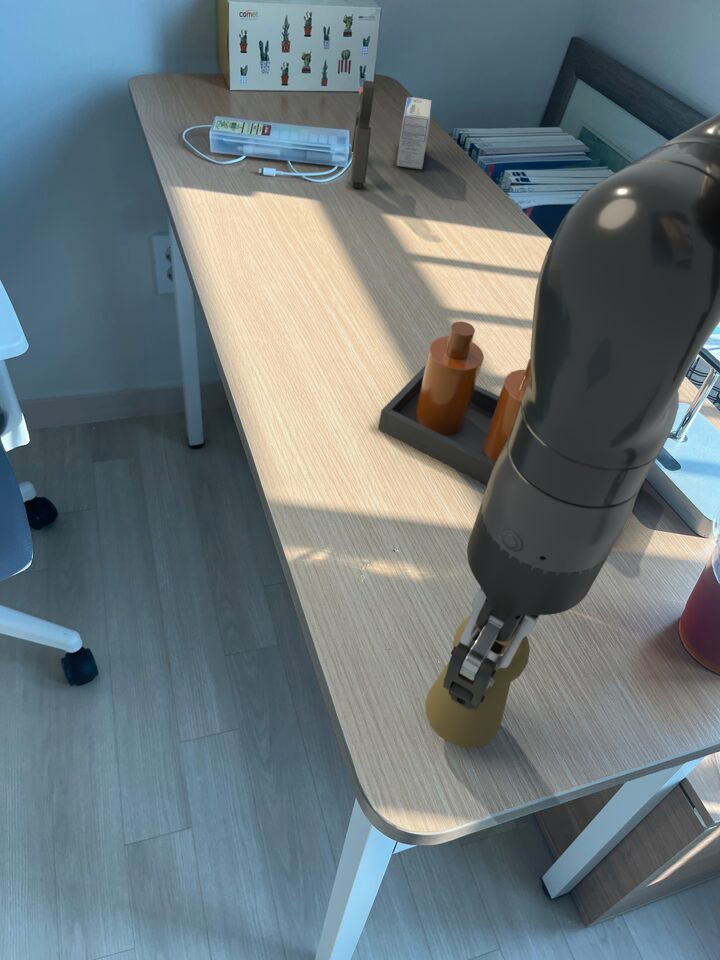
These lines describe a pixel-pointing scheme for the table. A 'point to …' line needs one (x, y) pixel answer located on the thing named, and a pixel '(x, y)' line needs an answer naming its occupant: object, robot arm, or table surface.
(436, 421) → the amber bottle far
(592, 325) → the robot arm
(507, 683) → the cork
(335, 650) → the table surface
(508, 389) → the amber bottle middle
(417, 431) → the tray
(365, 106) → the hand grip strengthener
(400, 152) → the medicine box
